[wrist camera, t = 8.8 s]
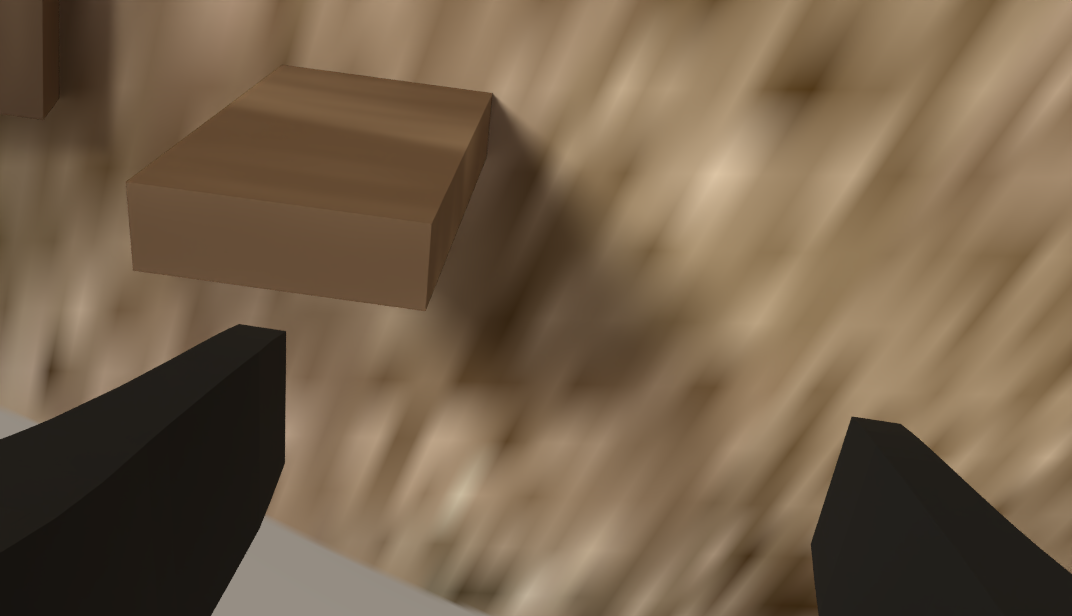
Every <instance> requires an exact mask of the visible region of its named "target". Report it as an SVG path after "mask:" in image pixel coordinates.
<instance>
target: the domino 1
mask: <svg viewBox="0 0 1072 616" xmlns="http://www.w3.org/2000/svg"><path fill="white" fill-rule="evenodd" d="M58 99H59V0H0V114H6V115H13V116H20V117H27V118H34V119H41V120H43V119H44V118H45V117H46V115H47V114H48V113H49V111H50V110H51V108H52V107H53V106H54V104H55V103H56V102H57V100H58Z"/></svg>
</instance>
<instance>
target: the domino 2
mask: <svg viewBox="0 0 1072 616" xmlns="http://www.w3.org/2000/svg"><path fill="white" fill-rule="evenodd" d="M491 103H492V93H487V92H479V91H472V90H465V89H457V88H450V87H442V86H435V85H427V84H420V83H412V82H405V81H398V80H390V79H383V78H375V77H368V76H360V75H353V74H345V73H338V72H331V71H323V70H316V69H308V68H301V67H293V66H286V65H281V66H280V67H279V68H277V69H276V70H275V71H273V72H272V73H271V74H269V75H268V76H267V77H265V78H264V79H263V80H261V81H260V82H259V83H257V84H256V85H255V86H253V87H252V88H251V89H249V90H248V91H247V92H245V93H244V94H243V95H241V96H240V97H239V98H237V99H236V100H235V101H233V102H232V103H231V104H229V105H228V106H227V107H225V108H224V109H223V110H221V111H220V112H219V113H217V114H216V115H215V116H213V117H212V118H211V119H209V120H208V121H207V122H205V123H204V124H203V125H201V126H200V127H199V128H197V129H196V130H195V131H193V132H192V133H191V134H189V135H188V136H187V137H185V138H184V139H183V140H181V141H180V142H179V143H177V144H176V145H175V146H173V147H172V148H171V149H169V150H168V151H167V152H165V153H164V154H163V155H161V156H160V157H159V158H157V159H156V160H155V161H153V162H152V163H151V164H149V165H148V166H147V167H145V168H144V169H143V170H141V171H140V172H139V173H137V174H136V175H135V176H133V177H132V178H131V179H129V180H128V181H127V182H126V188H127V201H128V213H129V226H130V238H131V251H132V263H133V271H141V272H148V273H155V274H162V275H169V276H177V277H184V278H191V279H198V280H205V281H213V282H220V283H227V284H234V285H241V286H248V287H256V288H263V289H270V290H277V291H284V292H292V293H299V294H306V295H313V296H320V297H328V298H335V299H342V300H349V301H356V302H364V303H371V304H378V305H385V306H392V307H400V308H407V309H414V310H421V311H426V308H427V306H428V303H429V301H430V298H431V296H432V293H433V291H434V288H435V286H436V283H437V281H438V278H439V276H440V273H441V271H442V268H443V266H444V263H445V261H446V258H447V256H448V253H449V250H450V248H451V245H452V243H453V240H454V238H455V235H456V233H457V230H458V228H459V225H460V223H461V220H462V218H463V215H464V213H465V210H466V208H467V205H468V203H469V200H470V198H471V195H472V193H473V190H474V188H475V185H476V183H477V180H478V178H479V175H480V172H481V170H482V167H483V165H484V162H485V160H486V156H487V145H488V135H489V124H490V113H491Z"/></svg>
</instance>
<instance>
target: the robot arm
mask: <svg viewBox="0 0 1072 616" xmlns="http://www.w3.org/2000/svg"><path fill="white" fill-rule="evenodd" d="M285 394H286V331H281V330H274V329H267V328H261V327H254V326H248V325H241V324H239V325H236V326H234V327H232V328H229V329H227V330H225V331H223V332H221V333H219V334H217V335H215V336H213V337H212V338H210V339H208V340H206V341H204V342H202V343H200V344H199V345H197V346H195V347H193V348H191V349H189V350H188V351H186V352H184V353H182V354H180V355H178V356H177V357H175V358H173V359H171V360H169V361H167V362H165V363H163V364H162V365H160V366H158V367H156V368H154V369H152V370H150V371H148V372H146V373H145V374H143V375H141V376H139V377H137V378H135V379H133V380H131V381H130V382H128V383H126V384H124V385H122V386H120V387H118V388H116V389H113V390H111V391H109V392H107V393H105V394H103V395H101V396H99V397H97V398H94V399H92V400H90V401H88V402H86V403H84V404H82V405H80V406H78V407H76V408H73V409H71V410H69V411H67V412H65V413H63V414H61V415H59V416H57V417H54V418H52V419H50V420H47V421H45V422H43V423H40V424H38V425H36V426H33V427H31V428H29V429H26V430H23V431H21V432H19V433H16V434H13V435H11V436H8V437H6V438H3V439H0V616H211V615H212V613H213V611H214V609H215V607H216V606H217V604H218V602H219V600H220V598H221V597H222V595H223V593H224V592H225V590H226V588H227V586H228V584H229V583H230V581H231V579H232V577H233V576H234V574H235V572H236V570H237V568H238V567H239V565H240V563H241V561H242V559H243V558H244V555H245V554H246V552H247V550H248V548H249V547H250V545H251V543H252V541H253V539H254V538H255V536H256V534H257V532H258V530H259V528H260V526H261V523H262V521H263V518H264V516H265V514H266V511H267V509H268V506H269V504H270V501H271V499H272V496H273V493H274V491H275V488H276V485H277V483H278V480H279V477H280V475H281V472H282V469H283V467H284V464H285ZM811 550H812V560H813V570H814V581H815V589H816V597H817V605H818V613H819V616H1072V574H1071V573H1070V572H1068V571H1067V570H1066V569H1065V568H1064V567H1062V566H1061V565H1060V564H1059V563H1057V562H1056V561H1055V560H1054V559H1053V558H1051V557H1050V556H1049V555H1048V554H1046V553H1045V552H1044V551H1043V550H1041V549H1040V548H1039V547H1038V546H1037V545H1036V544H1034V543H1033V542H1032V541H1031V540H1030V539H1029V538H1027V537H1026V536H1025V535H1024V534H1023V533H1022V532H1021V531H1019V530H1018V529H1017V528H1016V527H1015V526H1014V525H1013V524H1011V523H1010V522H1009V521H1008V520H1007V519H1006V518H1005V517H1004V516H1002V515H1001V514H1000V513H999V512H998V511H997V510H996V509H995V508H994V507H993V506H991V505H990V504H989V503H988V502H987V501H986V500H985V499H984V498H983V497H982V496H981V495H979V494H978V493H977V492H976V491H975V490H974V489H973V488H972V487H971V486H970V485H969V484H968V483H966V482H965V481H964V480H963V479H962V478H961V477H960V476H959V475H958V474H957V473H956V472H955V471H954V470H953V469H951V468H950V467H949V466H948V465H947V464H946V463H945V462H944V461H943V460H942V459H941V458H940V457H939V456H937V455H936V454H935V453H934V452H933V451H932V450H931V449H930V448H929V447H928V446H927V445H925V444H924V443H923V442H922V441H921V440H920V439H919V438H917V437H916V436H915V435H914V434H913V433H912V432H910V431H909V430H908V429H906V428H905V427H904V426H903V425H901V424H898V423H891V422H884V421H878V420H871V419H865V418H858V417H852V418H851V421H850V424H849V427H848V430H847V433H846V436H845V439H844V442H843V446H842V449H841V452H840V455H839V458H838V461H837V464H836V467H835V470H834V474H833V477H832V480H831V483H830V486H829V489H828V492H827V495H826V498H825V502H824V505H823V508H822V511H821V514H820V517H819V520H818V523H817V526H816V530H815V533H814V536H813V539H812V542H811Z"/></svg>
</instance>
